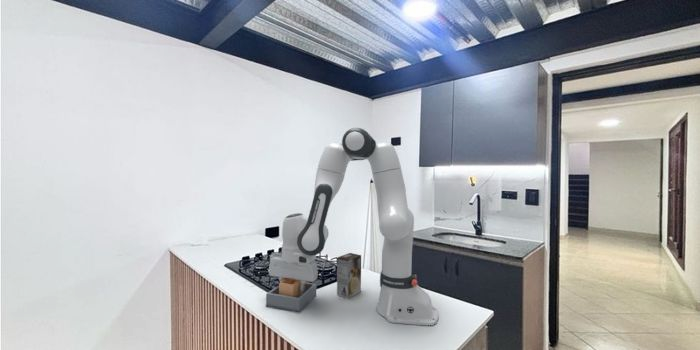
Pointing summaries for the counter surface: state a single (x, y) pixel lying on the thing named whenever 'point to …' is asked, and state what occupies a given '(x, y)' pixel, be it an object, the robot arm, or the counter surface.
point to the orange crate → (290, 287)
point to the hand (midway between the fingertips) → (292, 289)
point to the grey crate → (291, 299)
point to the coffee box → (348, 275)
